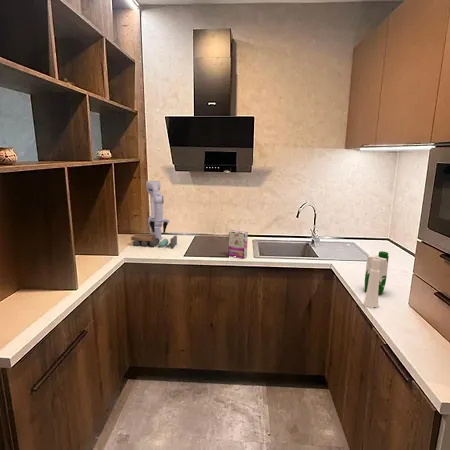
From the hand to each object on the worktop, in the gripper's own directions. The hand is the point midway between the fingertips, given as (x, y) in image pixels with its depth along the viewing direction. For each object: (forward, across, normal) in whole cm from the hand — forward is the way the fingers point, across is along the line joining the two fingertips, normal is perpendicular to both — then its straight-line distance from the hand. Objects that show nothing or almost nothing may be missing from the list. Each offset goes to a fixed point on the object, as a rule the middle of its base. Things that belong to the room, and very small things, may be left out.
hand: (158, 232), depth 230 cm
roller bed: (+9, -5, 0) cm, 11 cm away
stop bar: (+9, +11, 0) cm, 14 cm away
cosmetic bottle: (+9, +120, -77) cm, 143 cm away
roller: (+9, +5, 0) cm, 10 cm away
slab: (+5, -11, 0) cm, 12 cm away
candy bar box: (+10, +57, -16) cm, 60 cm away
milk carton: (+9, +126, -61) cm, 140 cm away
